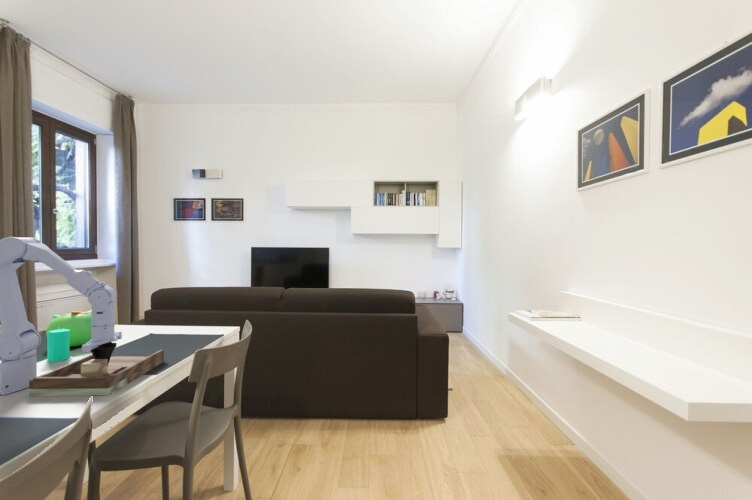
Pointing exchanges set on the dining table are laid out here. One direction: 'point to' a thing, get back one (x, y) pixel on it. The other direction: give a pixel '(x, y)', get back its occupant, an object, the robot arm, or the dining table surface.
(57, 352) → the candle
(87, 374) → the beech block
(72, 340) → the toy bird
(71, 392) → the box
